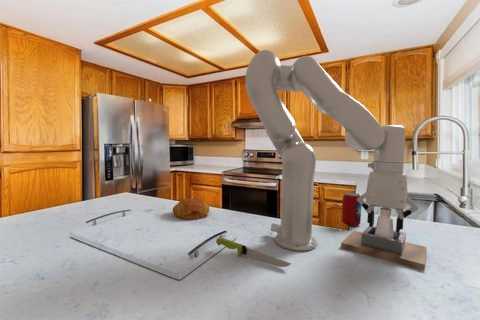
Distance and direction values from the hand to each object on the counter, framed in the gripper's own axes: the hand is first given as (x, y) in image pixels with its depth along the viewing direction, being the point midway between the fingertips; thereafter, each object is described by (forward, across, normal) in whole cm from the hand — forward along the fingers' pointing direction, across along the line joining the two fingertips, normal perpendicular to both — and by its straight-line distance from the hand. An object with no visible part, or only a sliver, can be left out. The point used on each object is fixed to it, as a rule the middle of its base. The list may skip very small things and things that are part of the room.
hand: (384, 227), depth 71 cm
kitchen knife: (+7, -26, -31) cm, 41 cm away
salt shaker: (+5, 0, 0) cm, 5 cm away
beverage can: (+7, -14, +19) cm, 25 cm away
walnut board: (+7, 0, 0) cm, 7 cm away
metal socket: (+5, 0, 0) cm, 5 cm away
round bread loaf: (+7, -69, -16) cm, 71 cm away
